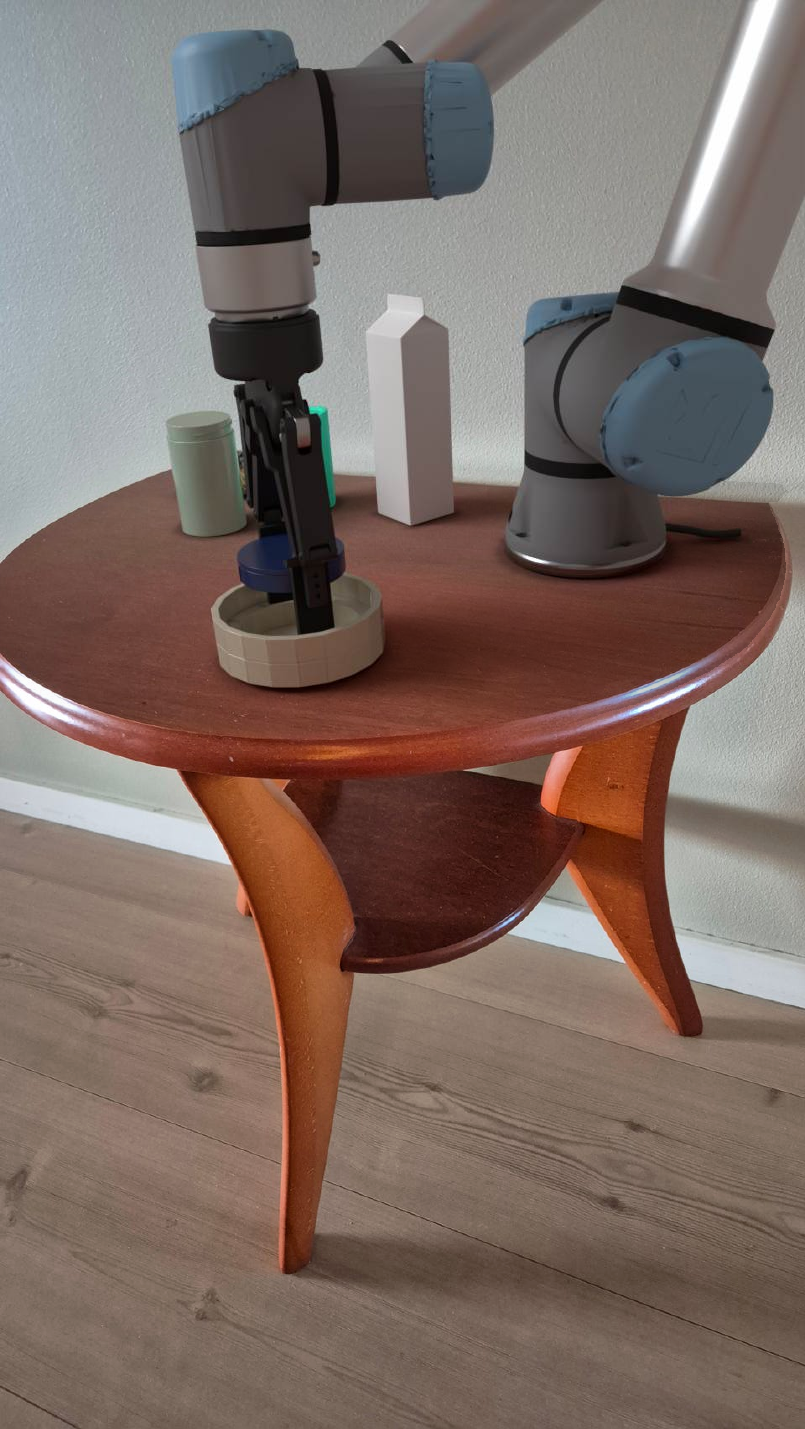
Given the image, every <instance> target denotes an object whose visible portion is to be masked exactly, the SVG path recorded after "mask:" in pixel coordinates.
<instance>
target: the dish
mask: <svg viewBox="0 0 805 1429" xmlns="http://www.w3.org/2000/svg"><path fill="white" fill-rule="evenodd" d="M330 586H331V596H332V605H333V615H334V625H335V628H332V629H329V630H325V631H322V632H317V633H310V634H303V635H298V633H297V625H296V617H295V609H294V601H293V600H290V601H286V602H281V603H276V604H272V605H270V604H269V603H268V601H267V594H266V592H262V591H258V590H254V589H251V588H249V587H247V586H245V585H244V584H243V583H242V582H241V583H240V584H238V585H235V586H233V587H231V588H230V589H228V590H226V591H225V592H224V593H222V594H221V595H220V596H218V597H217V598H216V600H215V602H214V604H213V605H212V607H211V608H210V612H211V619H212V625H213V631H214V638H215V643H216V649H217V655H218V661H219V666H220V667H221V668H222V669H223V670H224V671H225V672H226V673H227V674H228V675H229V676H230V677H233V678H235V679H237V680H240V681H243V682H245V683H247V684H249V685H250V684H251V685H256V686H262V687H268V688H304V687H310V686H317V685H322V684H328V683H332V682H335V681H339V680H341V679H345V678H348V677H351V676H353V675H355V674H357V673H359V672H361V671H362V670H364V669H366V668H368V667H370V666H372V665H373V664H374V663H375V662H376V660H378V658H379V657H380V656H381V655H382V654H383V652H384V649H385V648H384V647H385V643H386V633H385V621H384V620H385V619H384V618H385V616H384V603H383V602H384V601H383V594H382V592H381V591H380V589H379V587H378V586H377V585H376V584H374V583H373V582H372V581H370V580H368V579H367V578H365V577H363V576H359V575H356V574H352V573H348V572H346V571H345V572H344V574H343V575H342V576H341V577H340V578H339V579H337V580H335V581H334V582H332V583H330Z"/></svg>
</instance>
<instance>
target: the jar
mask: <svg viewBox="0 0 805 1429" xmlns="http://www.w3.org/2000/svg"><path fill="white" fill-rule="evenodd" d="M232 425H233V419H232V418H231V415H230V414H229V413H228V412H225V411H219V410H217V411H216V410H202V411H191V412H186V413H181V414H178V415H174V416H172V417H169V418H168V419H166V420H165V426H166V445H167V451H168V455H169V463H170V467H171V474H172V479H173V485H174V490H175V497H176V502H177V507H178V513H179V519H180V525H181V530H182V532H183V533H185V534H186V535H188V536H193V537H202V538H207V537H209V538H210V537H211V538H212V537H219V536H225V535H229V534H232V533H236V532H238V531H240V530H242V529H243V528H245V526H246V525H247V523H248V521H247V520H248V518H247V513H246V512H247V511H246V506H245V499H244V498H245V497H244V495H243V490H242V483H241V476H240V469H239V461H238V454H237V450H238V448H237V441H236V434H235V433H236V432H235V429H234V428H233V426H232Z"/></svg>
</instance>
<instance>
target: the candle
mask: <svg viewBox="0 0 805 1429" xmlns="http://www.w3.org/2000/svg"><path fill="white" fill-rule="evenodd" d="M308 406H309V411H310V414H314V413H317V414H318V415H319V418H320V419H321V437H322V453H323V459H324V466H325V473H326V479H327V486H328V493H329V500H330V506H331V508H332V507H335V506H336V502H337V499H336V486H335V477H334V465H333V455H332V444H331V443H332V442H331V432H330V422H329V411H328V408H327V407H326V406H322V405H316V406H315V405H312V406H311V405H308Z"/></svg>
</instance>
